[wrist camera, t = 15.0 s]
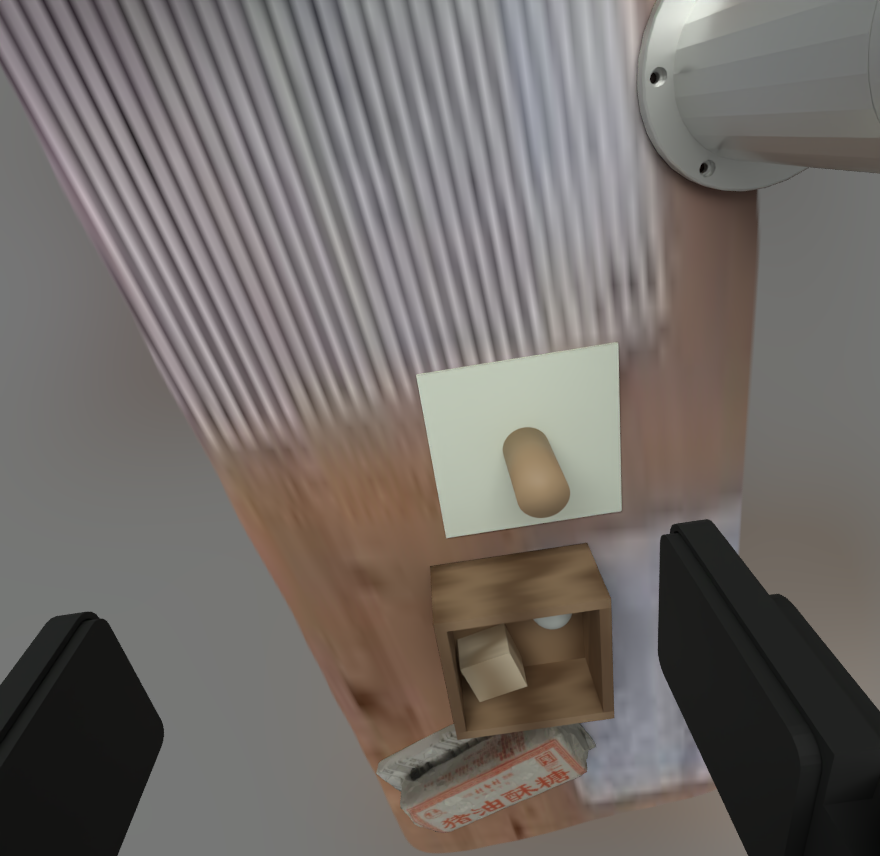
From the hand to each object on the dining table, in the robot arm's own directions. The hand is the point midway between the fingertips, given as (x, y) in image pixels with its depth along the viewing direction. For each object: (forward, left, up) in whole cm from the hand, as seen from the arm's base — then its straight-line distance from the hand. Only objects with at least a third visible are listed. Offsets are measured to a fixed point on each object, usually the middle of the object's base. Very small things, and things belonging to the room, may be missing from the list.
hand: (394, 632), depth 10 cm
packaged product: (0, +44, -29) cm, 53 cm away
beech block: (-2, +30, -28) cm, 41 cm away
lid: (-6, +13, -29) cm, 32 cm away
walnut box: (-4, +28, -28) cm, 40 cm away
